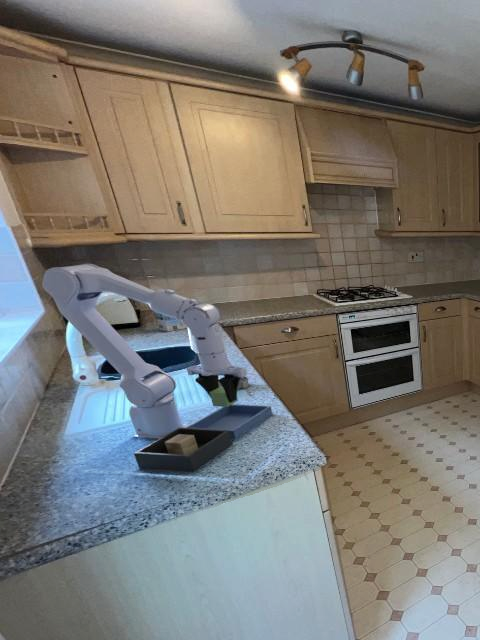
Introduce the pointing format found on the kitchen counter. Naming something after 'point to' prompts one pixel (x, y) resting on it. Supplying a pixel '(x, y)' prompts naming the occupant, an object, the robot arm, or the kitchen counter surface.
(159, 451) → the black basket
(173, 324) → the light bulb box
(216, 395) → the green cube
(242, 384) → the egg carton
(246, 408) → the blue box
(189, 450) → the cream cube
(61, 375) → the kitchen counter surface
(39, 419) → the kitchen counter surface
